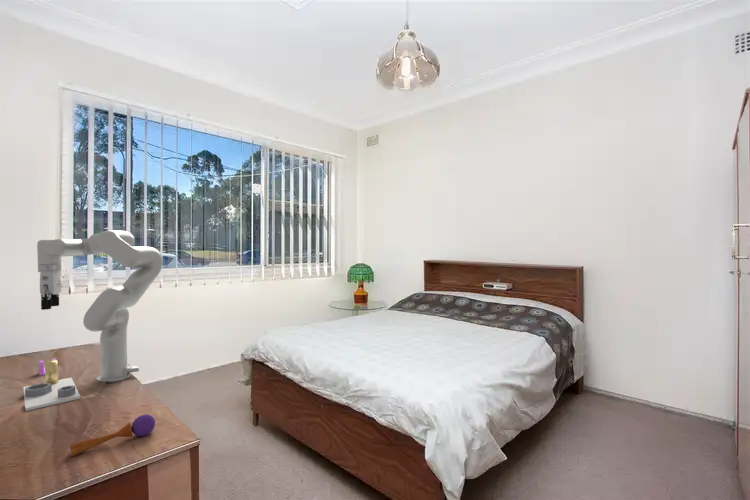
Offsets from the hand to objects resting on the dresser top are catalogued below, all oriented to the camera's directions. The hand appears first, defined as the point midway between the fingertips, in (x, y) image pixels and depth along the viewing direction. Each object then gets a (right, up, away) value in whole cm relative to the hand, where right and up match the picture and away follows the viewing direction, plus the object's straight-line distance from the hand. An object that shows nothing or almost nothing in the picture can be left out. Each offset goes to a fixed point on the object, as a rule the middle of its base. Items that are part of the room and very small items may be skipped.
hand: (50, 307), depth 164 cm
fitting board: (+16, -31, -18) cm, 39 cm away
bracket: (-8, -31, +8) cm, 33 cm away
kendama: (+66, -31, -55) cm, 91 cm away
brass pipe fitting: (+9, -30, -9) cm, 32 cm away
